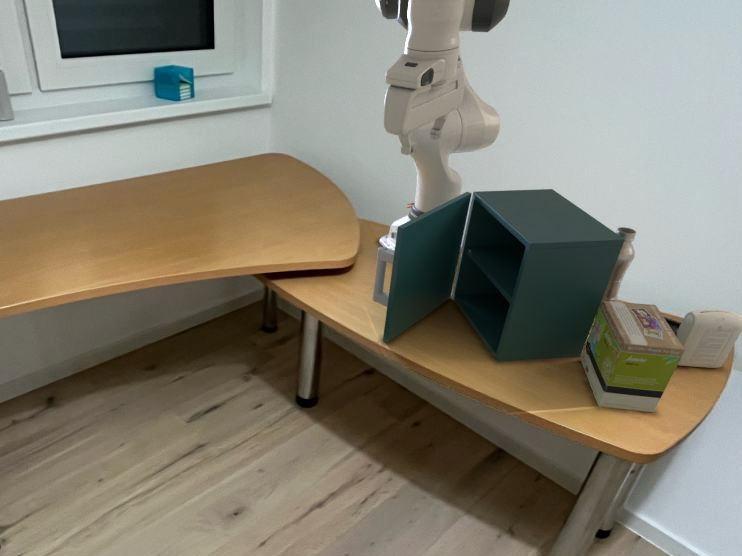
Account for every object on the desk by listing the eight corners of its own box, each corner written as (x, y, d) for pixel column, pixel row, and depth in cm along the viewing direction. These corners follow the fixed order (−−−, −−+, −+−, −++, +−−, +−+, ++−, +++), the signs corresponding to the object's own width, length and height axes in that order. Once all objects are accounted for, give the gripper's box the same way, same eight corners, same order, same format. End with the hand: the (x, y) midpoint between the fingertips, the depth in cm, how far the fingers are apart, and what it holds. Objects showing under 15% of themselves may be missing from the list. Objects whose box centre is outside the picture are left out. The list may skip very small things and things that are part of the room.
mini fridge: (497, 362, 116) (530, 243, 100) (451, 297, 137) (473, 191, 122) (580, 357, 117) (625, 239, 102) (522, 293, 139) (552, 188, 124)
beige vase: (615, 319, 130) (648, 238, 118) (584, 315, 131) (614, 235, 119) (608, 304, 135) (639, 226, 123) (578, 301, 136) (606, 223, 124)
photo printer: (712, 357, 117) (741, 306, 110) (724, 370, 114) (753, 318, 107) (661, 354, 118) (685, 303, 111) (670, 367, 115) (696, 315, 108)
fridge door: (362, 330, 124) (373, 218, 110) (426, 288, 140) (444, 185, 125) (387, 342, 121) (403, 228, 106) (450, 298, 136) (471, 193, 122)
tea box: (577, 360, 116) (601, 297, 108) (629, 365, 115) (658, 303, 106) (596, 407, 104) (625, 341, 96) (655, 414, 103) (689, 348, 94)
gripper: (446, 49, 103) (437, 127, 112) (379, 75, 92) (375, 158, 101) (478, 54, 100) (466, 133, 108) (412, 80, 89) (404, 166, 97)
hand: (421, 145), depth 104 cm, fingers open, 8 cm apart
